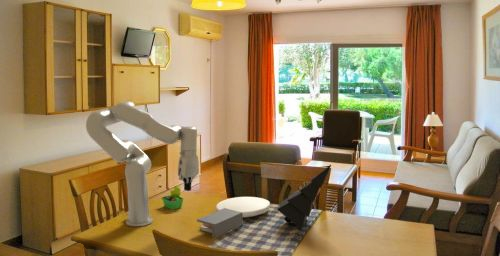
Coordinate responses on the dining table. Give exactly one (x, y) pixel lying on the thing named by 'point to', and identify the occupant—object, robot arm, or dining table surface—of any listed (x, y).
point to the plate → (245, 205)
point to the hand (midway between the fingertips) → (187, 190)
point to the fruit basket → (173, 199)
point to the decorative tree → (302, 200)
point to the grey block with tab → (221, 222)
